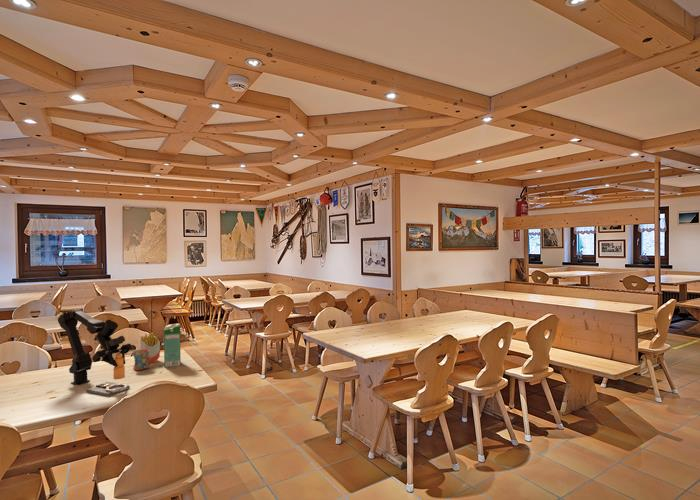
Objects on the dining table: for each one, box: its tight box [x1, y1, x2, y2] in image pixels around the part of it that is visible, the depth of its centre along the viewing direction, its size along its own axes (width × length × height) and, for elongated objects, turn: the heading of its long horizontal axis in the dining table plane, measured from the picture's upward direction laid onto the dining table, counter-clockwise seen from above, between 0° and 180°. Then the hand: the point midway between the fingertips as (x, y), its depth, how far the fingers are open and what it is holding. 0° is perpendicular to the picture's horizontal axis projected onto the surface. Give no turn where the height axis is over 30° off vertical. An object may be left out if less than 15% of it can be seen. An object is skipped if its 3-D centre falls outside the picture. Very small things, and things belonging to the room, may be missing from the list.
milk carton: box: [163, 322, 182, 368], centre depth 255 cm, size 9×9×25 cm
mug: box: [131, 349, 151, 371], centre depth 247 cm, size 12×9×11 cm
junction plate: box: [85, 381, 131, 397], centre depth 211 cm, size 18×12×2 cm, turn 68°
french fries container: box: [139, 332, 161, 365], centre depth 261 cm, size 5×11×18 cm, turn 156°
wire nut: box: [113, 353, 126, 380], centre depth 211 cm, size 5×5×12 cm
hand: (120, 365), depth 210 cm, fingers closed on wire nut, 4 cm apart
